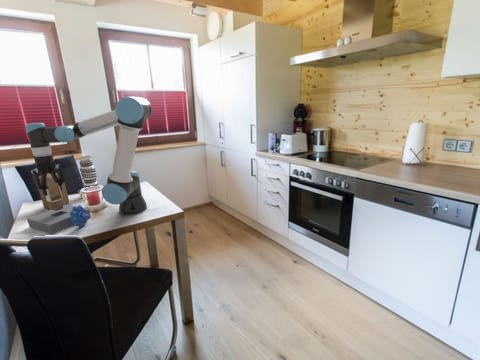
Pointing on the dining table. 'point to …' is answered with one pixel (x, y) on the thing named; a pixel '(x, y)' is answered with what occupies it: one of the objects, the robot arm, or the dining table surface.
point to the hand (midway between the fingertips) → (54, 199)
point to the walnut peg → (55, 196)
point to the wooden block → (64, 192)
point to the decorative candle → (88, 172)
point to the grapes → (78, 216)
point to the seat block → (53, 220)
